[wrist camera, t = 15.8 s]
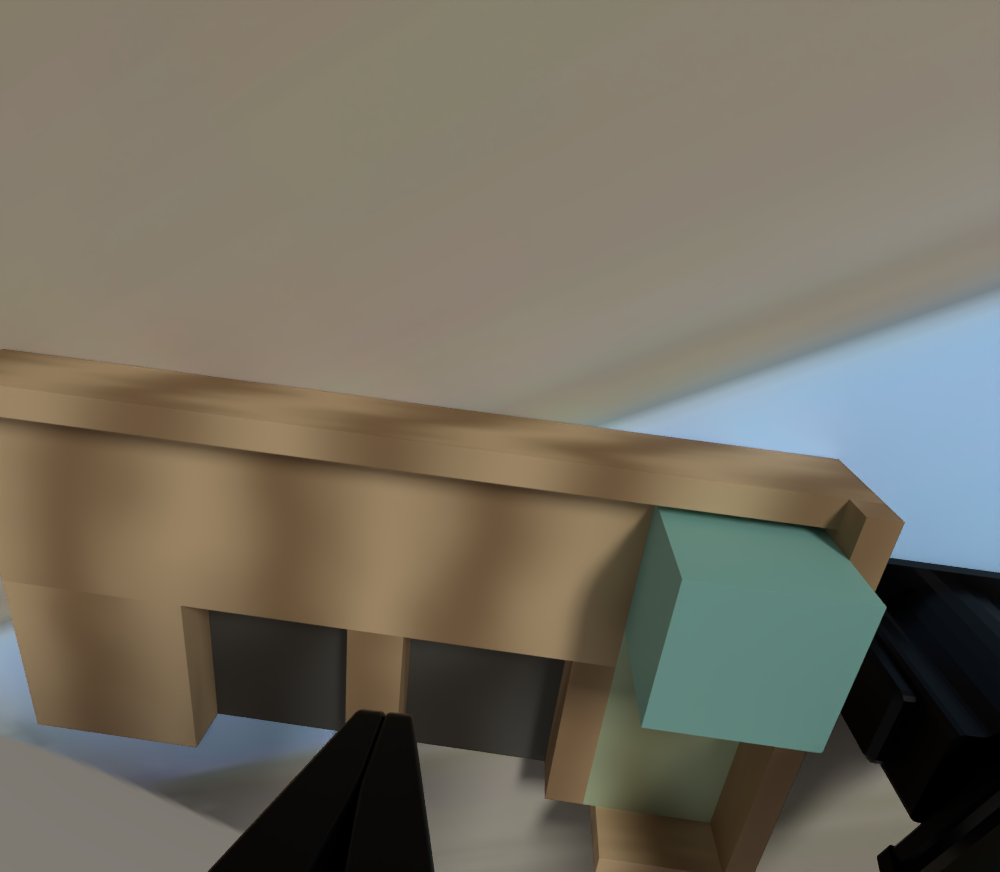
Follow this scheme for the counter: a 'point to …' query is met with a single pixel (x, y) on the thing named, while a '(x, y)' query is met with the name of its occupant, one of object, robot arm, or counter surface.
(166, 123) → the counter surface
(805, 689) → the block
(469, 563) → the tray
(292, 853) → the robot arm
